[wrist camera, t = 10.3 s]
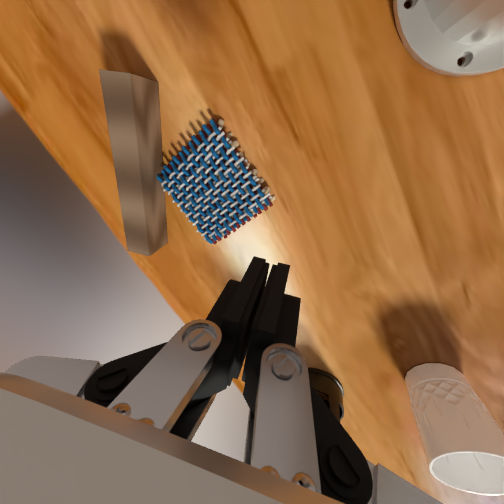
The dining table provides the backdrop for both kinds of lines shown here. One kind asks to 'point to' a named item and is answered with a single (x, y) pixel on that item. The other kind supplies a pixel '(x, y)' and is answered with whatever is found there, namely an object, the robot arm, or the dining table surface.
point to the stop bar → (137, 157)
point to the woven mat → (214, 184)
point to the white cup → (456, 430)
